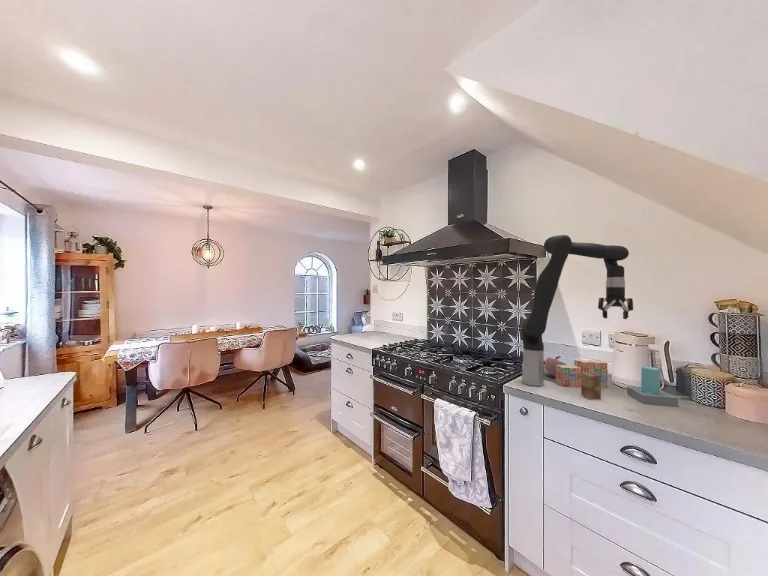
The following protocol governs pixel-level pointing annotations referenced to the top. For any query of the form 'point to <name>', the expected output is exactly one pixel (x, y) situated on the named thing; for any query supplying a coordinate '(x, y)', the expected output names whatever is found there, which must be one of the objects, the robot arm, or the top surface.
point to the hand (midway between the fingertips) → (615, 318)
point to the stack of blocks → (572, 373)
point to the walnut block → (591, 385)
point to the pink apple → (552, 365)
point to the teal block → (650, 380)
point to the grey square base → (652, 397)
